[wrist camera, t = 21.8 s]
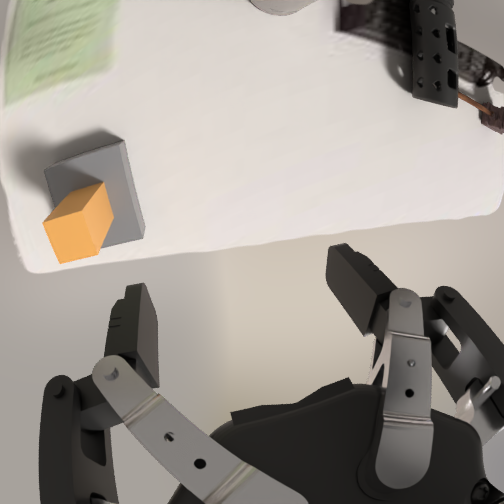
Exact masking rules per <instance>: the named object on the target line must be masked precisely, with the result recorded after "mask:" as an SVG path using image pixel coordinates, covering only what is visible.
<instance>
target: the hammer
mask: <svg viewBox="0 0 504 504" xmlns="http://www.w3.org/2000/svg"><path fill="white" fill-rule="evenodd" d="M458 98H460V99H462V100H464V101H466V102H468V103H469V104H471V105H473V106H475V107H476V108H478V109H480V110H481V111H482V119H481V124H483V125H485V126H486V127H488V128H490V129H492V130H494V131H495V132H498V133H500V134H502V133H504V107H501V108H498V107H495V106H493V105H492V104H491V103H489V102H487V104H486V103H483V105H481V104H479V103H478V102H476V101H474V100H473V99H471V98H469V97H468V96H466V95H464V94H462V93H460V92H459V91H458Z"/></svg>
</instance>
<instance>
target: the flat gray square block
mask: <svg viewBox="0 0 504 504" xmlns="http://www.w3.org/2000/svg"><path fill="white" fill-rule="evenodd" d="M44 172H45V176H46V179H47V183H48V186H49V189H50V193H51V196H52V199H53V202H54V205H55V208H56V207H57V206H58V205H59V204H60V203H61V201H62V200H63V199H64V198H65V197H66V196H67V195H68V194H69V193H70V192H72V191H75V190H78V189H81V188H85V187H88V186H91V185H95V184H98V183H102V182H104V184H105V188H106V192H107V195H108V199H109V202H110V206H111V209H112V212H113V216H114V219H113V221H112V223H111V225H110V228H109V230H108V232H107V234H106V237H105V239H104V241H103V244H102V246H101V248H105V247H109V246H113V245H117V244H122V243H126V242H130V241H135V240H139V239H143V236H144V231H145V223H144V220H143V216H142V212H141V209H140V205H139V201H138V197H137V193H136V189H135V185H134V181H133V177H132V172H131V168H130V163H129V159H128V154H127V149H126V144H125V141H121V142H117V143H114V144H110V145H107V146H104V147H100V148H97V149H94V150H91V151H88V152H85V153H82V154H79V155H76V156H73V157H70V158H68V159H65V160H62V161H59V162H57V163H54V164H53V165H51V166H50V167H48V168H47V169H45V170H44Z"/></svg>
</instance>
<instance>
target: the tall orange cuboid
mask: <svg viewBox="0 0 504 504" xmlns="http://www.w3.org/2000/svg"><path fill="white" fill-rule="evenodd" d="M113 219H114V216H113V212H112V209H111V206H110V202H109V199H108V195H107V192H106V188H105V184H104V182H102V183H98V184H95V185H91V186H88V187H85V188H81V189H78V190H75V191H72V192H70V193H69V194H68V195H67V196H66V197H65V198H64V199H63V200H62V201H61V203H60V204H59V205H58V206H57V207H56V208H55V209H54V210H53V211H52V212H51V214H50V215H49V216H48V217H47V218H46V219H45V220H44V222H43V226H44V228H45V231H46V233H47V236H48V238H49V241H50V243H51V245H52V248H53V250H54V252H55V255H56V257H57V259H58V261H59V263H60V264H62V263H66V262H70V261H74V260H79V259H83V258H87V257H91V256H95V255H98V253H99V251H100V249H101V246H102V244H103V241H104V239H105V237H106V234H107V232H108V230H109V228H110V225H111V223H112V221H113Z"/></svg>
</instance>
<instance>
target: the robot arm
mask: <svg viewBox="0 0 504 504" xmlns="http://www.w3.org/2000/svg"><path fill="white" fill-rule="evenodd" d="M250 1H251V2H252V3H253V4H254V5H255V6H256V7H257V8H259V9H260V10H262V11H264V12H266V13H269V14H273V15H279V16H281V15H290V14H293V13H295V12H297V11H299V10H301V9H302V8H304V7H306V6H308V5H309V4H311V3H313V2H315V1H317V0H250ZM326 281H327V284H328V286H329V288H330V289H331V291H332V292H333V293H334V295H335V296H336V298H337V299H338V300H339V302H340V303H341V305H342V306H343V307H344V309H345V310H346V312H347V313H348V314H349V316H350V317H351V318H352V320H353V321H354V323H355V324H356V326H357V327H358V329H359V330H360V332H361V333H362V335H363V336H364V337H365V336H367V335H370V334H374V335H375V336H376V337H375V339H374V345H373V352H372V359H371V365H370V372H369V377H368V380H367V383H366V384H352V382H351V380H350V379H349V377H348V378H345V379H343V380H340V381H337V382H335V383H332V384H329V385H327V386H324V387H321V388H320V389H318V390H317V391H315V392H313V393H312V394H310V395H309V396H307V397H305V398H304V399H302V400H300V401H299V402H297V403H293V404H280V405H261V406H256V407H252V408H248V409H244V410H239V411H234V412H231V416H232V420H231V421H228V422H227V423H225V424H223V425H222V426H220V427H219V428H217V429H216V430H215V431H214V432H213V433H212V434H211V435H210V436H208V435H207V434H205V433H204V432H203V431H202V430H200V429H199V428H198V427H197V426H195V425H194V424H193V423H192V422H191V421H189V420H188V419H187V418H186V417H185V416H184V415H183V414H181V413H180V412H179V411H178V410H177V409H176V408H175V407H174V406H173V405H172V404H170V403H169V402H168V401H167V400H166V399H165V398H164V397H163V396H162V395H160V394H157V393H156V392H155V391H153V389H152V388H159V366H158V321H157V315H156V311H155V308H154V306H153V303H152V301H151V298H150V296H149V293H148V290H147V287H146V285H145V284H144V283H139V284H134V285H129V286H127V287H126V291H125V297H124V299H120V300H117V302H116V303H115V305H114V306H113V308H112V310H111V315H110V321H109V329H108V332H107V338H106V345H105V352H104V358H102V359H101V360H99V362H97V363H96V365H95V366H94V368H93V371H92V374H91V375H89V376H87V377H84V378H82V379H80V380H77V381H74V382H73V381H72V380H71V379H70V378H69V377H68V376H65V375H59V376H55V377H54V378H52V379H51V380H50V381H49V382H48V383H47V385H46V387H45V390H44V396H43V403H42V413H41V422H40V436H39V489H40V501H41V504H119V502H118V496H117V490H116V483H115V476H114V469H113V459H112V448H111V435H110V427H113V426H115V425H118V424H120V423H124V425H125V426H126V427H127V428H128V430H129V431H130V432H131V433H132V434H133V435H134V437H135V438H136V439H137V440H138V441H139V442H140V443H141V444H142V445H143V447H144V448H145V449H146V450H148V452H149V453H150V454H151V455H152V456H153V457H154V458H155V459H156V460H157V461H158V462H159V463H160V464H161V465H162V466H163V467H164V468H165V469H166V470H167V471H168V472H169V473H170V474H172V475H173V476H174V477H175V478H176V479H177V480H178V481H179V482H180V484H179V486H178V488H177V489H176V491H175V492H174V494H173V496H172V497H171V499H170V501H169V502H168V504H504V493H502V492H501V491H499V490H498V489H497V488H495V487H494V486H493V485H492V484H491V483H490V482H489V481H488V480H487V477H486V474H485V470H484V465H483V453H482V446H483V445H484V444H485V443H487V442H488V441H489V440H490V439H491V438H492V437H493V436H494V435H495V434H497V433H498V432H499V431H501V430H502V429H503V428H504V345H503V343H502V342H501V341H500V339H499V338H498V337H497V336H496V334H495V333H494V332H493V331H492V330H491V328H490V327H489V326H488V325H487V324H486V322H485V321H484V320H483V319H482V318H481V317H480V315H479V314H478V313H477V312H476V311H475V310H474V309H473V308H472V306H471V305H469V303H468V302H467V301H466V300H465V299H464V298H463V297H462V296H461V295H460V293H459V292H458V291H456V290H455V289H453V288H451V287H448V286H440V287H438V288H437V289H436V291H435V293H434V296H432V297H419V296H418V295H417V294H416V293H415V292H414V291H411V290H409V289H405V288H397V287H396V286H395V285H394V284H393V283H392V282H391V280H390V279H389V278H388V277H387V276H386V275H385V274H384V273H383V272H382V271H381V270H379V268H378V267H377V266H376V265H374V263H373V262H372V261H371V260H370V259H369V258H368V257H367V256H365V255H363V254H361V253H359V252H355V251H354V250H353V249H352V248H351V247H350V246H349V245H348V244H346V243H343V244H338V245H334V246H330V247H329V249H328V257H327V266H326ZM449 328H450V330H451V331H452V332H453V333H454V335H455V336H456V337H457V339H458V340H459V341H460V344H461V351H460V353H459V351H458V350H457V349H456V347H455V346H454V345H453V343H452V342H451V341H450V339H449V338H448V337H447V335H446V333H447V331H448V329H449ZM432 367H433V368H434V370H435V371H436V373H437V374H438V376H439V377H440V379H441V381H442V382H443V384H444V385H445V387H446V388H447V390H448V392H449V393H450V395H451V397H452V398H453V400H454V402H455V403H456V412H457V413H456V414H455V416H454V417H453V416H450V415H447V414H444V413H442V412H439V411H437V410H434V409H431V389H432V388H431V386H432Z"/></svg>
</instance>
